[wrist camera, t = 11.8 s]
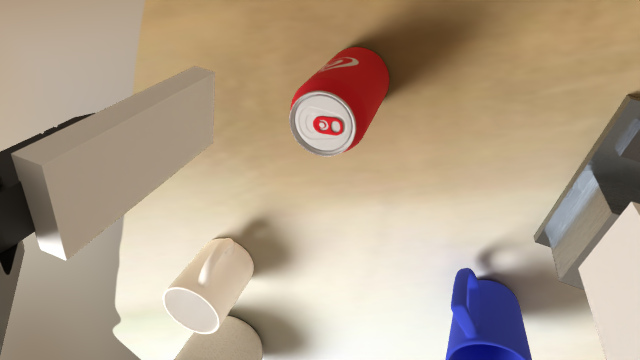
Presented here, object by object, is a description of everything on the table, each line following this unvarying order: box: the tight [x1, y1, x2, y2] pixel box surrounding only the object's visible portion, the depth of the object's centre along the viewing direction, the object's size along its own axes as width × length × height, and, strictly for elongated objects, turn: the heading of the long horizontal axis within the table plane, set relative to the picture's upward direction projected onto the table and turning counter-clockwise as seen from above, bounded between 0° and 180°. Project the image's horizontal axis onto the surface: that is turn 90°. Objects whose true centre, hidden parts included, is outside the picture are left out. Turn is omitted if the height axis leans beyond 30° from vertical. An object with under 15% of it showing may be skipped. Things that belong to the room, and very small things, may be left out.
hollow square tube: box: [549, 176, 640, 290], centre depth 35 cm, size 8×8×6 cm
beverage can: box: [289, 47, 389, 156], centre depth 35 cm, size 6×6×12 cm
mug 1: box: [163, 238, 254, 334], centre depth 54 cm, size 12×8×10 cm
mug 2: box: [446, 268, 532, 360], centre depth 43 cm, size 8×12×10 cm
